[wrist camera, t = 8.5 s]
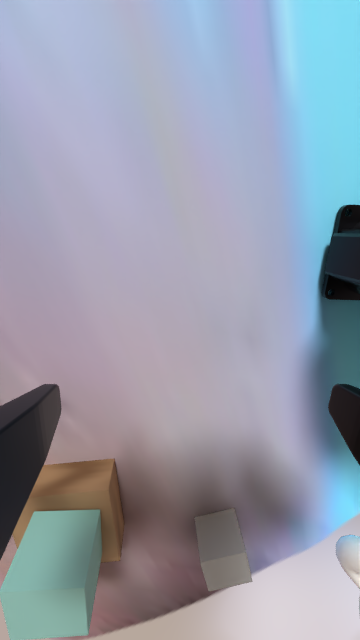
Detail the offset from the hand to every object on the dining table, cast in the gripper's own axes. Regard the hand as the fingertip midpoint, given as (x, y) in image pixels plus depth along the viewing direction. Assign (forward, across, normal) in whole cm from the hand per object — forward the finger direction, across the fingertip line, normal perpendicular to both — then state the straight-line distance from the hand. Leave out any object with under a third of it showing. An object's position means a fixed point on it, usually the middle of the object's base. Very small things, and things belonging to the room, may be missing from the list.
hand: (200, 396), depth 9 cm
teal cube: (+9, +8, +18) cm, 22 cm away
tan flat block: (+12, +9, +18) cm, 24 cm away
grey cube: (+12, -5, +23) cm, 26 cm away
